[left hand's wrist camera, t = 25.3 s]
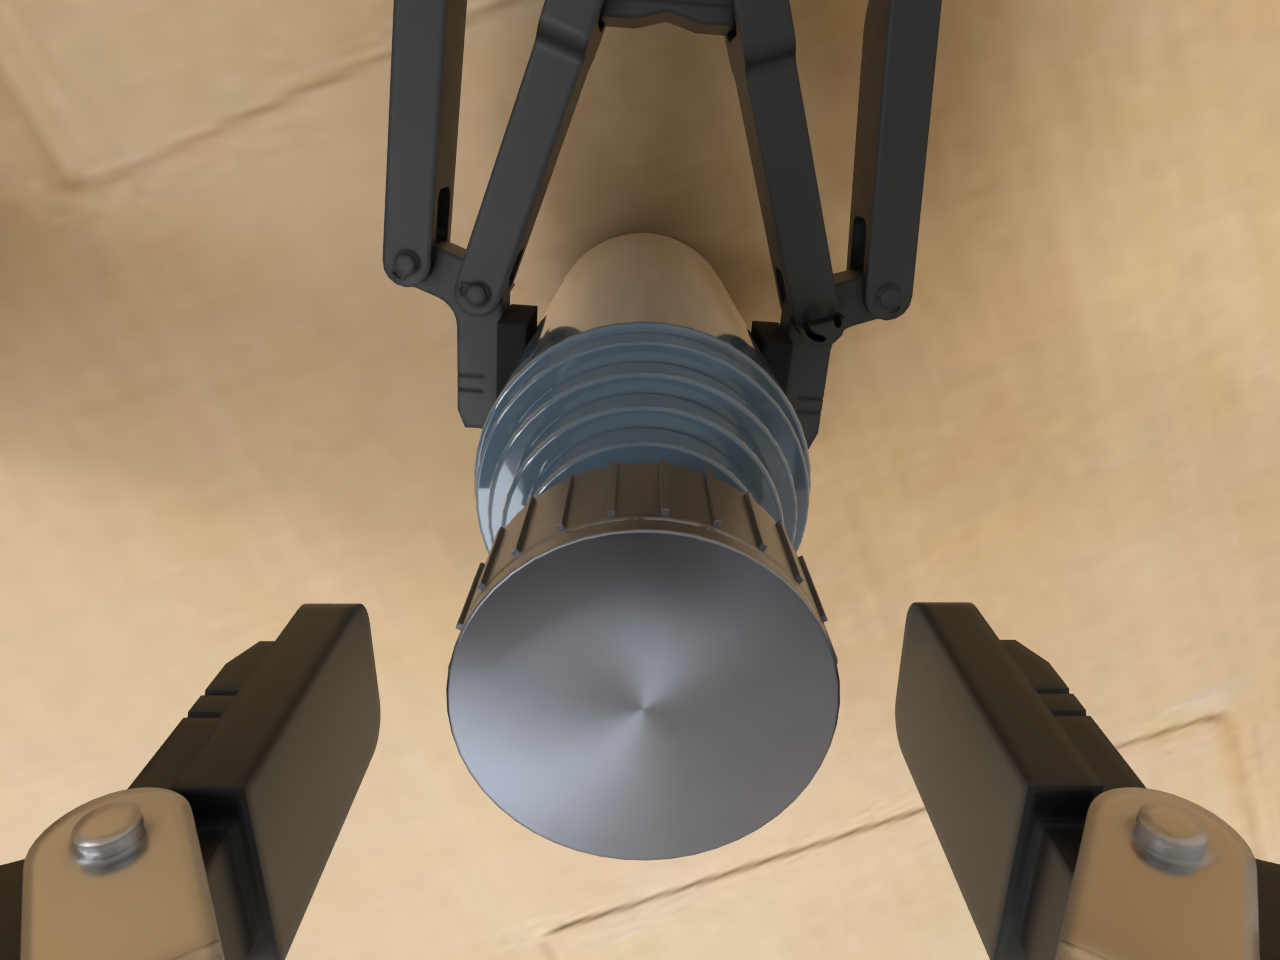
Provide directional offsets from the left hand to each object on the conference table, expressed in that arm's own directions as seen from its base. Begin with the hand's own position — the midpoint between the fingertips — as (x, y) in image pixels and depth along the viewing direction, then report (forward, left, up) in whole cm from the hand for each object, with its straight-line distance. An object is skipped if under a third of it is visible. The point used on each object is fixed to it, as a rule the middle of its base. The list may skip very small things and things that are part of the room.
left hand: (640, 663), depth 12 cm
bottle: (0, 0, -21) cm, 21 cm away
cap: (0, 0, +1) cm, 1 cm away
